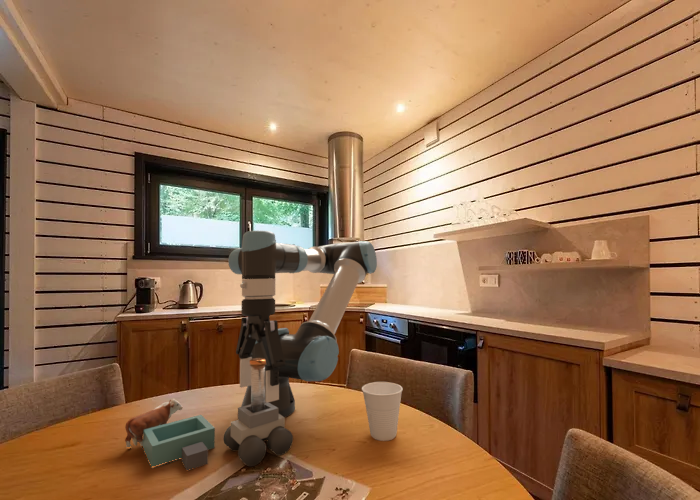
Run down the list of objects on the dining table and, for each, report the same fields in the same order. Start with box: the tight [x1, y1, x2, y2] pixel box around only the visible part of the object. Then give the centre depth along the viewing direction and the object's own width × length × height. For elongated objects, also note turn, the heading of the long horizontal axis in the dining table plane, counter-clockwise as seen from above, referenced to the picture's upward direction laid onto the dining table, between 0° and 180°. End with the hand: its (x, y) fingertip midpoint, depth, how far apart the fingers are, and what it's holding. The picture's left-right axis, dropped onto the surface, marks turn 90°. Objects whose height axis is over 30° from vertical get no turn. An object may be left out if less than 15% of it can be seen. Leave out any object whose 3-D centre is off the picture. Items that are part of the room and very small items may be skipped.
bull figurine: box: [124, 398, 184, 448], centre depth 79 cm, size 4×13×8 cm, turn 153°
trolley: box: [223, 401, 294, 467], centre depth 73 cm, size 11×11×9 cm
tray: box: [142, 414, 216, 468], centre depth 75 cm, size 10×12×4 cm
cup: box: [361, 381, 404, 442], centre depth 79 cm, size 10×10×11 cm
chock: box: [181, 442, 209, 471], centre depth 69 cm, size 4×4×3 cm
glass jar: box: [250, 358, 266, 413], centre depth 74 cm, size 4×4×13 cm
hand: (258, 393), depth 74 cm, fingers open, 13 cm apart
